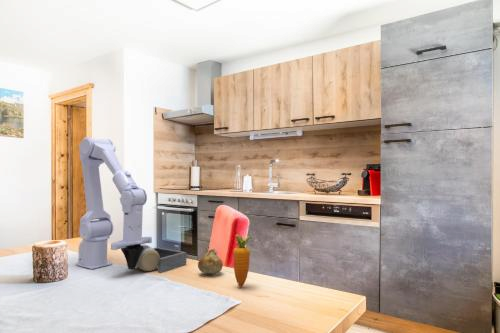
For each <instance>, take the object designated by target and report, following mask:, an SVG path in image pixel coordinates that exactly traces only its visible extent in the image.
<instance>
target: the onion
mask: <svg viewBox="0 0 500 333" xmlns="http://www.w3.org/2000/svg"><path fill="white" fill-rule="evenodd" d="M223 267H224V265H223V260H222V259H221V258H220V257H219V256H218V251H217V250H215V248H211V249H210V250H209V251H207V253H205V255H203V256H202V257H201V258H200V259H199V260H198V262H197V268H198V270H199V271H200V273H202V274H204V275H205V276H215V275H217V274H219V273H220V272H221V271H222V269H223Z"/></svg>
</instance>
